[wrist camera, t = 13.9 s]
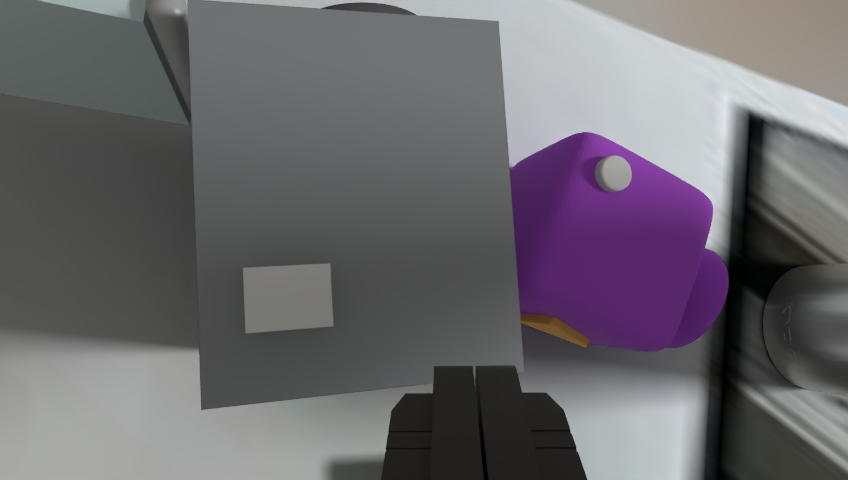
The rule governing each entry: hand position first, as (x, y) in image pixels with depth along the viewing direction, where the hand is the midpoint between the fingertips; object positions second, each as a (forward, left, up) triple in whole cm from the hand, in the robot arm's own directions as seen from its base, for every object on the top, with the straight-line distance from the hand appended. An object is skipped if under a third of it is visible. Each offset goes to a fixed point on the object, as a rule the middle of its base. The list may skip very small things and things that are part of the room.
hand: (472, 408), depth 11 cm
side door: (+12, -13, -22) cm, 28 cm away
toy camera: (-15, -3, -24) cm, 28 cm away
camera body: (+1, -7, -23) cm, 24 cm away
